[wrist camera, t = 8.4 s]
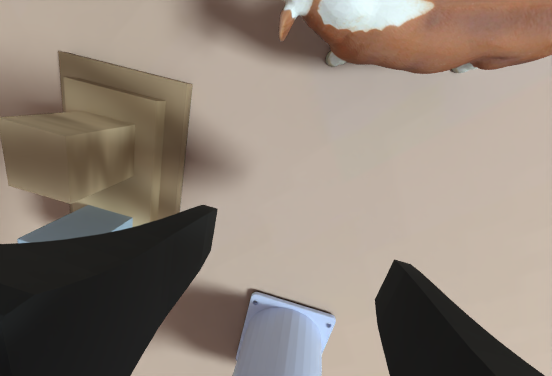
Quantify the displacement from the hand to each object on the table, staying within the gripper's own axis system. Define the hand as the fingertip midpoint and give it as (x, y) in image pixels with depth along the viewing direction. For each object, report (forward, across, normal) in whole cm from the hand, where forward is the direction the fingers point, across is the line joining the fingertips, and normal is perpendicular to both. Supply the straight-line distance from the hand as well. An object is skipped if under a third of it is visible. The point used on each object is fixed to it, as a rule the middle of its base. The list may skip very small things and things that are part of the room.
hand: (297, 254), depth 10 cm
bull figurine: (+11, -2, -10) cm, 15 cm away
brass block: (+8, +15, +1) cm, 17 cm away
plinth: (+10, +15, +5) cm, 19 cm away
